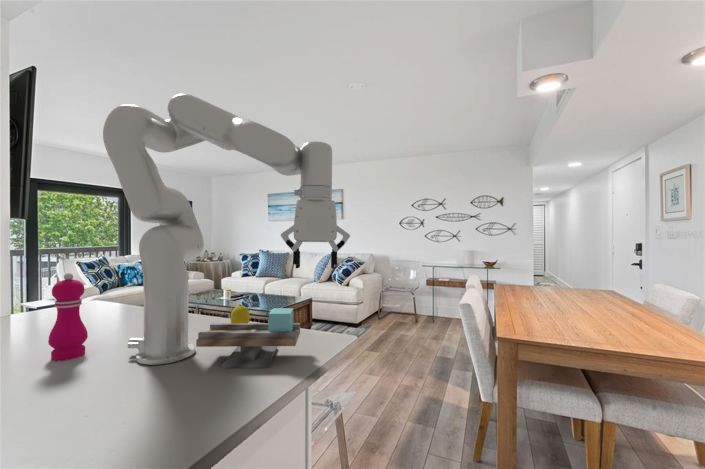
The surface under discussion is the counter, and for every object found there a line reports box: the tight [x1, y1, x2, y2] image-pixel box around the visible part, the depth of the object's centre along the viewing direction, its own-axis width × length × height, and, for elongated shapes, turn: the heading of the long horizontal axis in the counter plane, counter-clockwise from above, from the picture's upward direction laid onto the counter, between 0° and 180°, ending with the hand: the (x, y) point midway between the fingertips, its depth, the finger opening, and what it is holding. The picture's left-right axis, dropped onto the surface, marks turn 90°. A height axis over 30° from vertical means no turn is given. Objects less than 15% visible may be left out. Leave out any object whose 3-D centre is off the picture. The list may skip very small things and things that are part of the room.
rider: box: [268, 307, 294, 332], centre depth 81 cm, size 5×5×5 cm
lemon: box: [230, 303, 251, 323], centre depth 102 cm, size 6×6×8 cm
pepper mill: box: [47, 272, 89, 362], centre depth 80 cm, size 7×7×20 cm
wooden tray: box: [195, 322, 301, 369], centre depth 81 cm, size 22×12×7 cm, turn 93°
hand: (315, 267), depth 81 cm, fingers open, 7 cm apart
